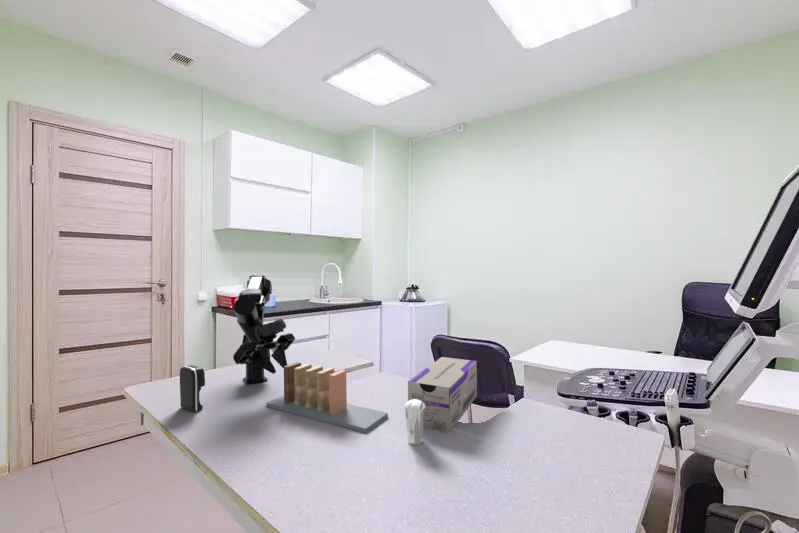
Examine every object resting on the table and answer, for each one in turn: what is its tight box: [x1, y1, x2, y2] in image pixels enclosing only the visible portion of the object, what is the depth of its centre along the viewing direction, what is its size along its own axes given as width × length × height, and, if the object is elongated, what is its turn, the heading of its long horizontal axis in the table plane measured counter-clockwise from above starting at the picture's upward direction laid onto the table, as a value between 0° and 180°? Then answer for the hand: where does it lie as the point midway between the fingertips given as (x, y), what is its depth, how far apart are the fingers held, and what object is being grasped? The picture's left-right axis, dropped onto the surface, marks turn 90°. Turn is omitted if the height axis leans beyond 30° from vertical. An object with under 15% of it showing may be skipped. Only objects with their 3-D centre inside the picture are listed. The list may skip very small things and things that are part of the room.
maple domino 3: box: [317, 367, 335, 412], centre depth 100 cm, size 2×5×10 cm, turn 151°
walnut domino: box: [283, 361, 302, 403], centre depth 106 cm, size 2×5×10 cm, turn 151°
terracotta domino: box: [329, 369, 348, 415], centre depth 98 cm, size 2×5×10 cm, turn 151°
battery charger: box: [179, 364, 206, 413], centre depth 103 cm, size 7×4×11 cm, turn 57°
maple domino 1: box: [294, 363, 313, 406], centre depth 104 cm, size 2×5×10 cm, turn 151°
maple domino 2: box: [306, 365, 324, 409], centre depth 102 cm, size 2×5×10 cm, turn 151°
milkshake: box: [404, 399, 426, 446], centre depth 84 cm, size 4×5×10 cm
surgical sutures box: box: [407, 356, 478, 433], centre depth 102 cm, size 25×11×11 cm, turn 154°
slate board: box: [265, 394, 389, 434], centre depth 101 cm, size 33×10×1 cm, turn 61°
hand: (280, 370), depth 108 cm, fingers open, 4 cm apart
